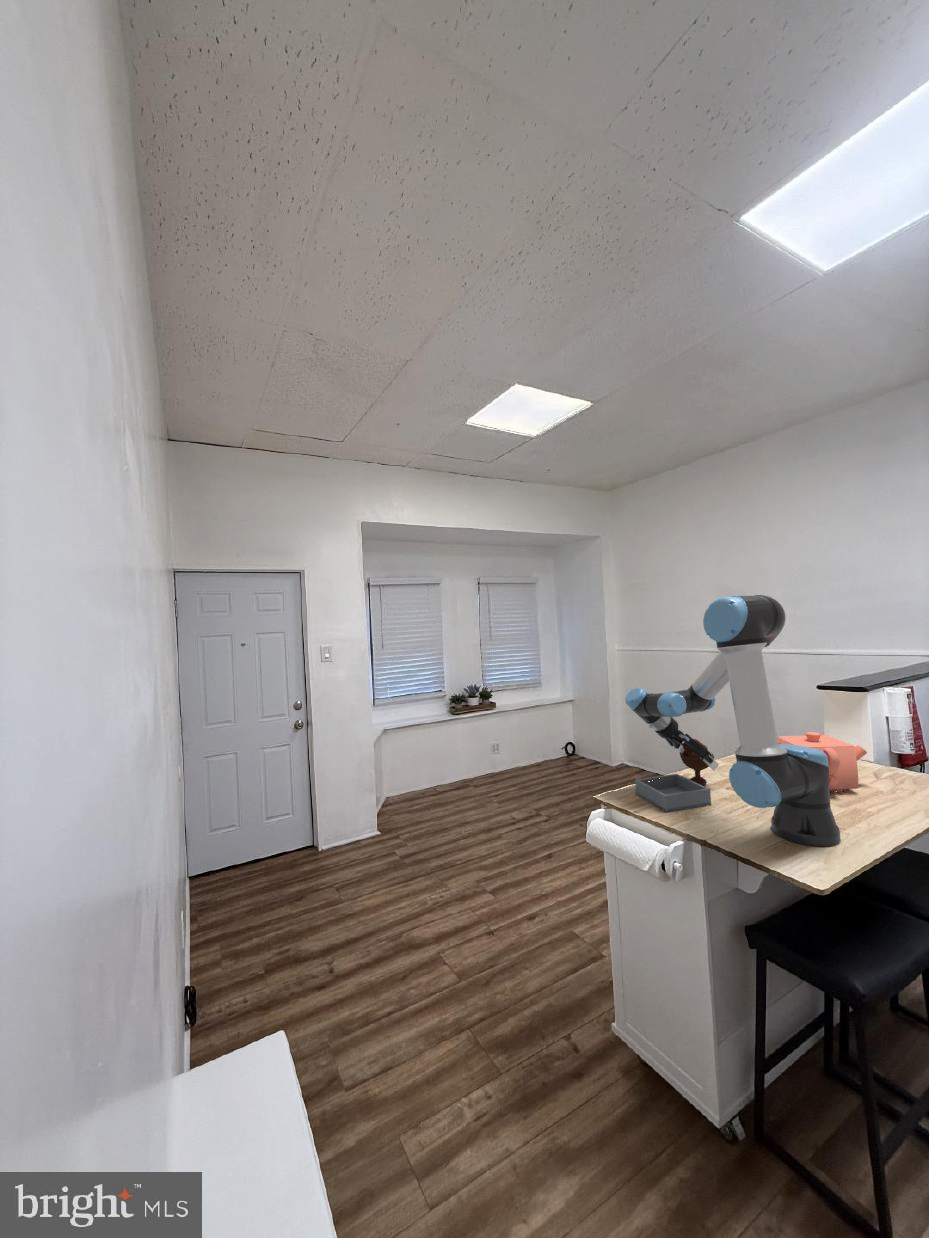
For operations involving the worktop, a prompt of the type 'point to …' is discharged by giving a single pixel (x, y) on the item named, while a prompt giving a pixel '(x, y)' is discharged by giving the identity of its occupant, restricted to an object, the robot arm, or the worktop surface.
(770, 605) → the robot arm
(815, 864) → the worktop surface
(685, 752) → the ice cream bowl
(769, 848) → the worktop surface
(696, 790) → the tray
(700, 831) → the worktop surface
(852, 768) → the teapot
